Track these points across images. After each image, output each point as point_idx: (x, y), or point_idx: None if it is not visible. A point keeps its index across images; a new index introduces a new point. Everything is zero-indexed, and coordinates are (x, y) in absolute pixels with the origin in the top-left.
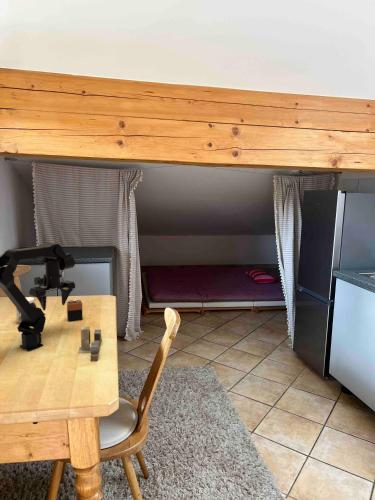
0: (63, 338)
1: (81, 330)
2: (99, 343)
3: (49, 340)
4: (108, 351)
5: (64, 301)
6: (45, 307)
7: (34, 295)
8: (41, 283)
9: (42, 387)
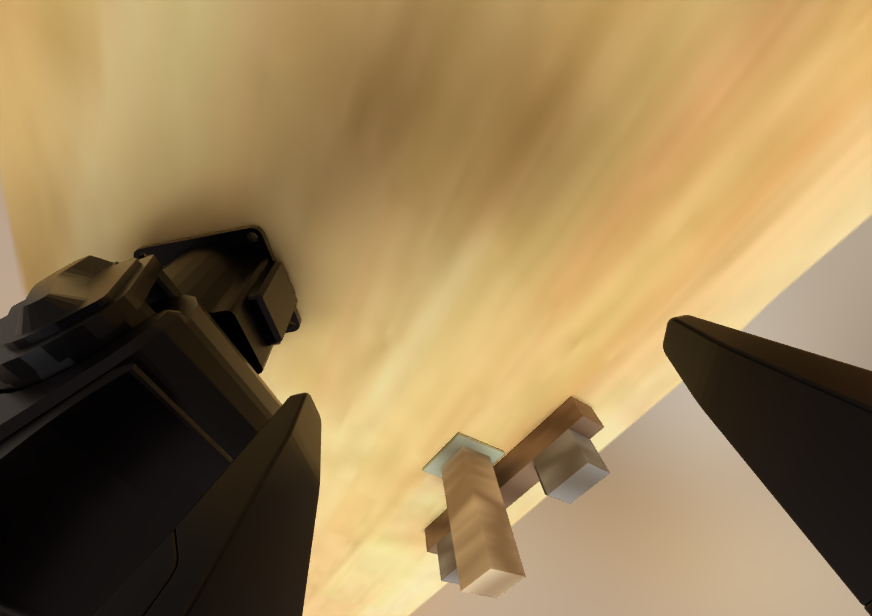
0: (455, 290)
1: (462, 585)
2: (525, 491)
3: (366, 265)
4: (521, 501)
5: (712, 420)
6: (313, 481)
7: None
8: None
9: None
